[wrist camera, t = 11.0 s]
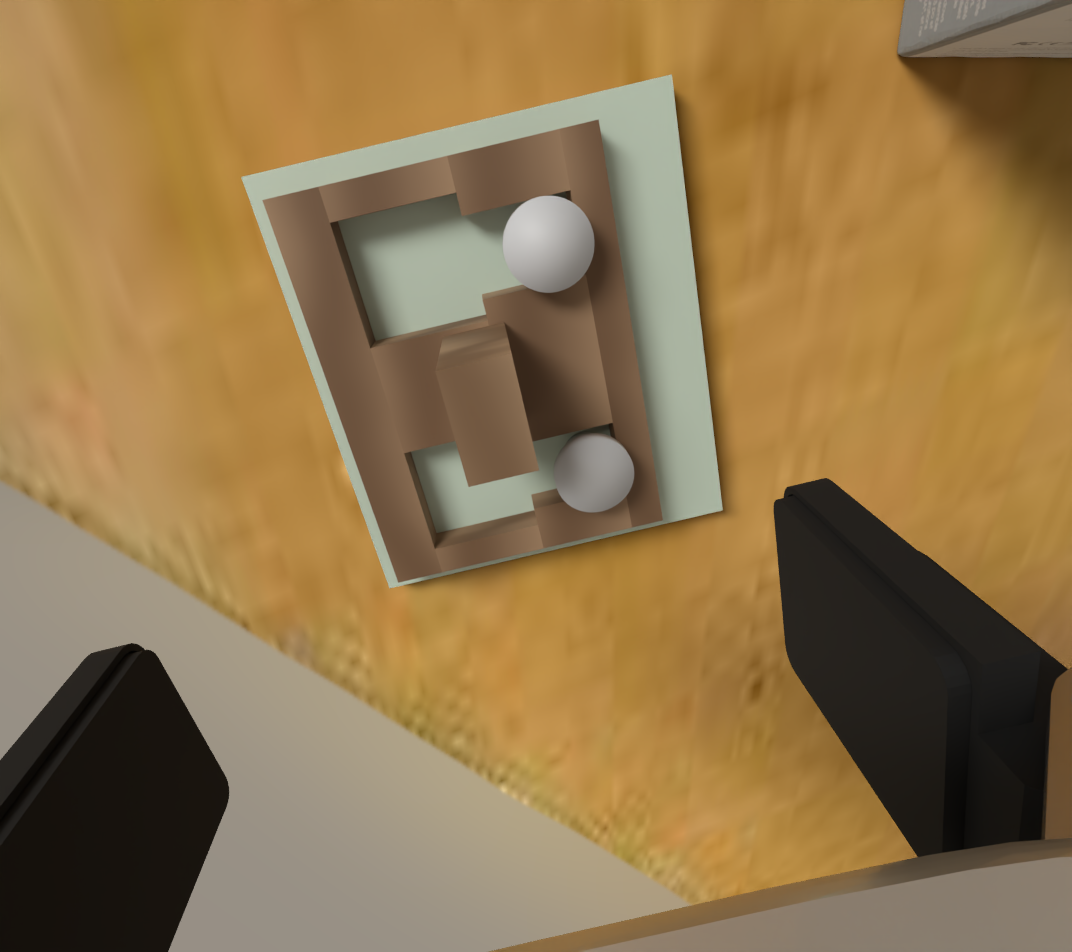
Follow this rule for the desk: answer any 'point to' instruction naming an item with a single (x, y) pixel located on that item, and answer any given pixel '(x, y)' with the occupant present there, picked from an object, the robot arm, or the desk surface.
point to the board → (473, 264)
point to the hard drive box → (986, 28)
